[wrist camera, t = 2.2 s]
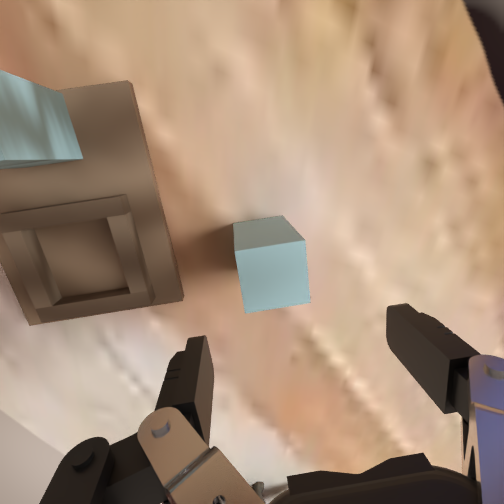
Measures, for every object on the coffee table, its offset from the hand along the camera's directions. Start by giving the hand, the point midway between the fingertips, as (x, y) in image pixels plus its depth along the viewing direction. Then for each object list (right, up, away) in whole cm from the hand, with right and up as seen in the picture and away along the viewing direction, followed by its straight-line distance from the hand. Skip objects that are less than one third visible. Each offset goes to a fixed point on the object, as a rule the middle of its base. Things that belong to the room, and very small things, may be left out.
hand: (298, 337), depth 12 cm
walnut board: (-17, +7, +12) cm, 21 cm away
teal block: (-1, +5, +14) cm, 15 cm away
